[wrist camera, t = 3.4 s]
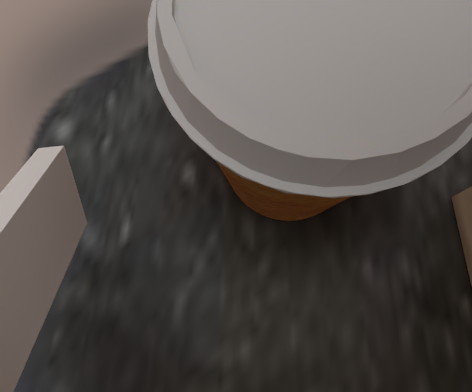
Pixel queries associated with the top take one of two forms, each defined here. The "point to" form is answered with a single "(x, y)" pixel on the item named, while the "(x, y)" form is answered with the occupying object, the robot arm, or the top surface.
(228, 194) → the top surface
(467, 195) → the birch tray
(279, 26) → the disposable coffee cup
